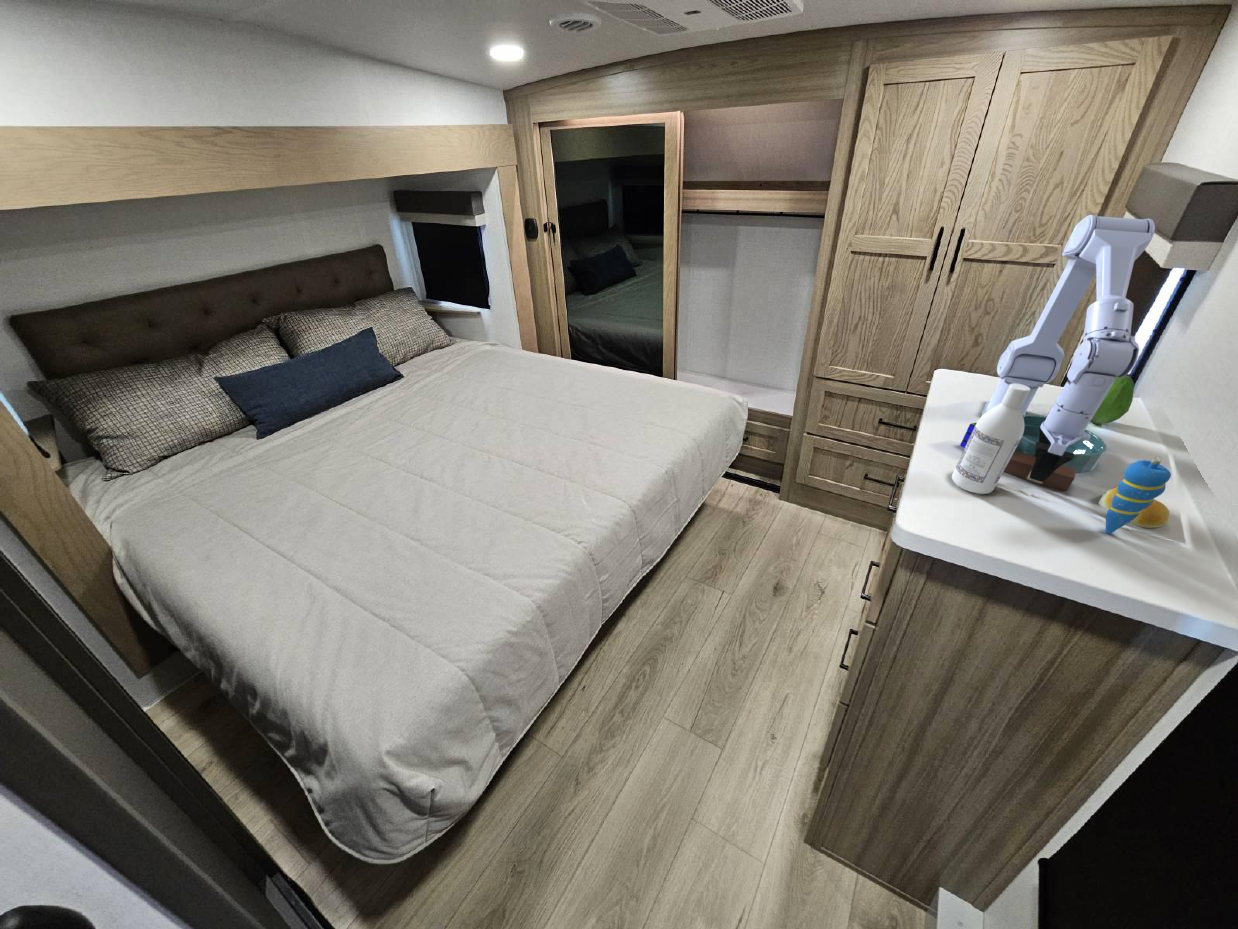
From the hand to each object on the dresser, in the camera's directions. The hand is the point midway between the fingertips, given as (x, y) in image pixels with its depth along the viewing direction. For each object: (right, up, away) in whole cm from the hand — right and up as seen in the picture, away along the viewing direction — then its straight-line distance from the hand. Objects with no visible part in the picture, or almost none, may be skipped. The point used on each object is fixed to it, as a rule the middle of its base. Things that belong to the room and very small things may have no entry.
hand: (1038, 470), depth 97 cm
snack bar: (0, -1, +1) cm, 2 cm away
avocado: (+30, +11, +21) cm, 38 cm away
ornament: (+2, -10, -12) cm, 16 cm away
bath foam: (-13, -3, -1) cm, 14 cm away
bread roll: (+10, -8, -7) cm, 14 cm away
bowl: (+9, +4, +9) cm, 13 cm away
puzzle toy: (-5, +4, +9) cm, 11 cm away
